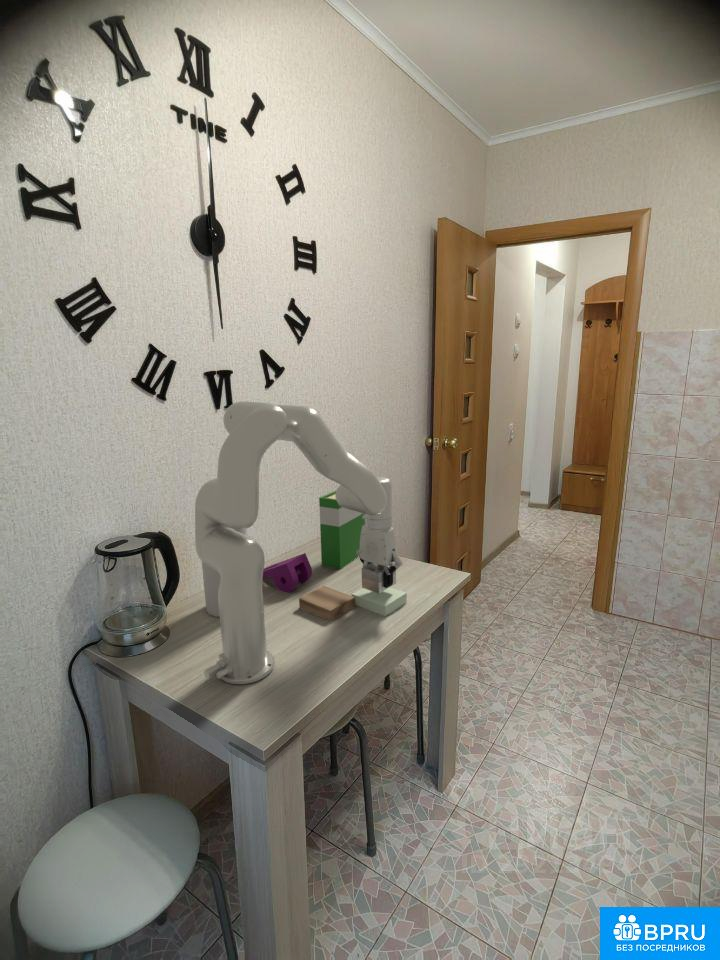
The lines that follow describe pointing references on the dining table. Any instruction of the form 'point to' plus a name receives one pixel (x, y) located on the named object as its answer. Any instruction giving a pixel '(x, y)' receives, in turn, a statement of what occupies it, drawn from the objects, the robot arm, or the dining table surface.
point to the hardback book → (338, 532)
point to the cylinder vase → (213, 586)
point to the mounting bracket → (289, 572)
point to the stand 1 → (327, 603)
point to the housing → (375, 577)
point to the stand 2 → (380, 600)
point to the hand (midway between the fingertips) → (378, 582)
